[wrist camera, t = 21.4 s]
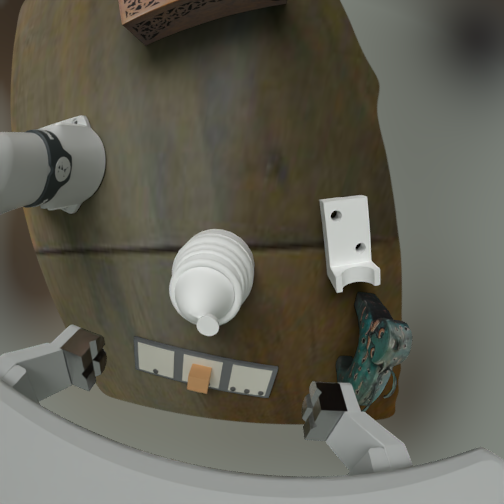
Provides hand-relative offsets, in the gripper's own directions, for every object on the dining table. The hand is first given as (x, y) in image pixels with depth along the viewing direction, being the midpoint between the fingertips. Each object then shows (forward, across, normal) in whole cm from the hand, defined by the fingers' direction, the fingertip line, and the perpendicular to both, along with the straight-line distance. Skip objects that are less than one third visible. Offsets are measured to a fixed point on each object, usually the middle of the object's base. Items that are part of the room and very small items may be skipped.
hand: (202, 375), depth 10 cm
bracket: (+38, -16, 0) cm, 41 cm away
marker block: (+36, +4, +33) cm, 49 cm away
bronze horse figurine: (+37, -24, +18) cm, 48 cm away
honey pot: (+37, +4, +10) cm, 39 cm away
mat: (+37, +4, +33) cm, 50 cm away
